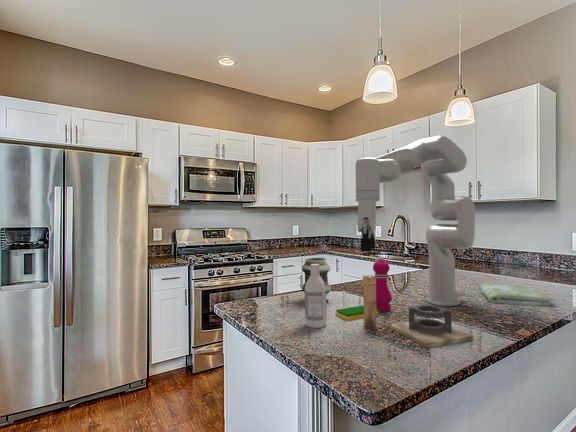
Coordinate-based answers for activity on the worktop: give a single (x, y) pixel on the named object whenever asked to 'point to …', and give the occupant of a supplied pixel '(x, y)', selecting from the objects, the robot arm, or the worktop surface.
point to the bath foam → (315, 299)
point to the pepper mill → (382, 285)
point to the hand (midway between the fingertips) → (368, 249)
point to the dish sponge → (352, 313)
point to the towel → (514, 294)
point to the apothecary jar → (323, 271)
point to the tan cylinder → (369, 301)
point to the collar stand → (431, 327)
